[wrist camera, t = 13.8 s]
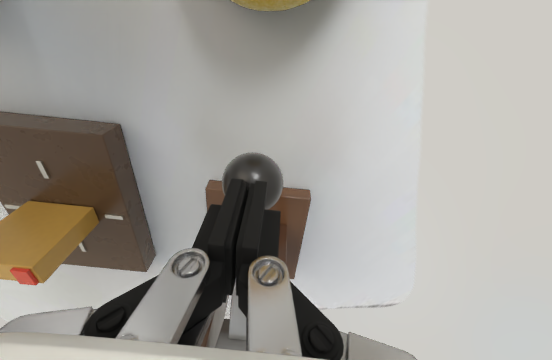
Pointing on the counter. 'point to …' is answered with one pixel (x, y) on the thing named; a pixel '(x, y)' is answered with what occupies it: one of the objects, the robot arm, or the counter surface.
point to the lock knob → (41, 239)
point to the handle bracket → (290, 239)
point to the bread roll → (270, 4)
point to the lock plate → (78, 183)
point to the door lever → (266, 170)
